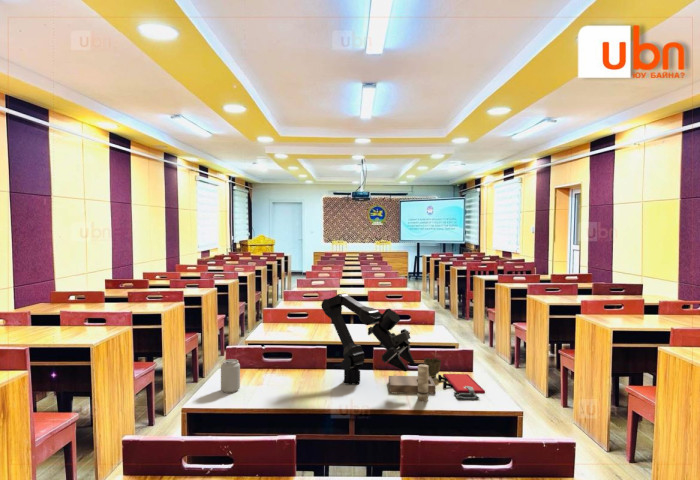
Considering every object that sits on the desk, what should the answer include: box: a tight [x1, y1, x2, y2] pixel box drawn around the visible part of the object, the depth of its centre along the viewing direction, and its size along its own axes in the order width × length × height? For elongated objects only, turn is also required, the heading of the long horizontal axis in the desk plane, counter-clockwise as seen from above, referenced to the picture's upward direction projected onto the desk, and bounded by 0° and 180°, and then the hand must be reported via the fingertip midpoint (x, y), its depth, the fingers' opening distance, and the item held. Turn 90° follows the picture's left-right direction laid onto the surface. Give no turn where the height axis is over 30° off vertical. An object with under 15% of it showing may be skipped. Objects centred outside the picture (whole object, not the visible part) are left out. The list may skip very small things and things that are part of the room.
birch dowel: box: [417, 363, 430, 402], centre depth 170 cm, size 4×4×13 cm
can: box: [220, 358, 241, 394], centre depth 179 cm, size 8×8×12 cm
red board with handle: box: [437, 373, 486, 399], centre depth 185 cm, size 30×3×15 cm
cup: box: [423, 357, 442, 379], centre depth 197 cm, size 8×7×8 cm
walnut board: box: [388, 375, 436, 394], centre depth 184 cm, size 18×12×3 cm, turn 89°
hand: (410, 367), depth 173 cm, fingers open, 9 cm apart
